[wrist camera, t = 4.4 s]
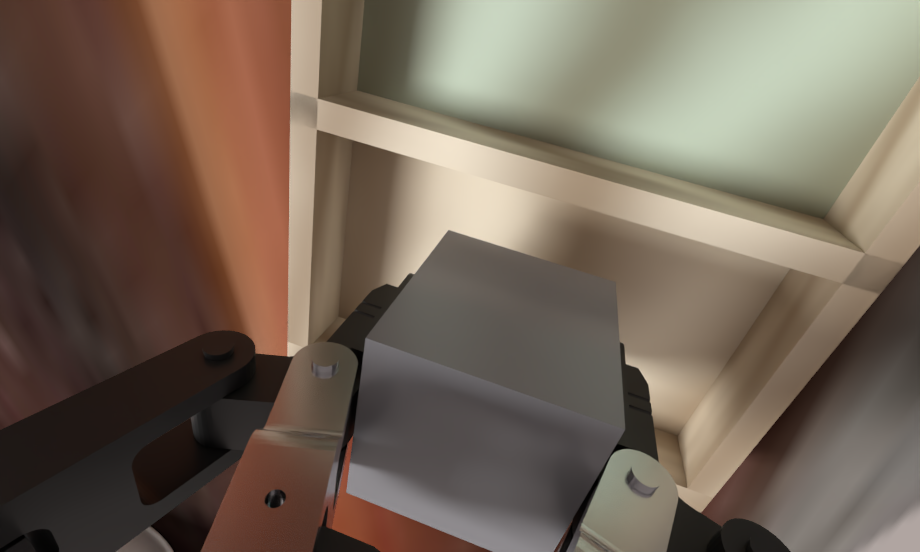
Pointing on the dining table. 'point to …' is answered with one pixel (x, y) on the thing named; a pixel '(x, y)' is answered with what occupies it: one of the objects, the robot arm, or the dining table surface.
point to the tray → (621, 177)
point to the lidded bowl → (147, 543)
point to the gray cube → (490, 396)
